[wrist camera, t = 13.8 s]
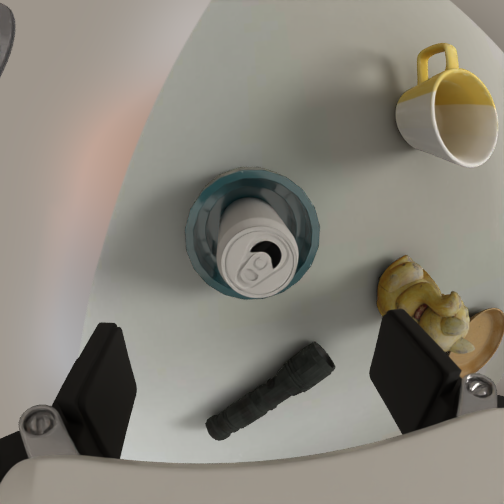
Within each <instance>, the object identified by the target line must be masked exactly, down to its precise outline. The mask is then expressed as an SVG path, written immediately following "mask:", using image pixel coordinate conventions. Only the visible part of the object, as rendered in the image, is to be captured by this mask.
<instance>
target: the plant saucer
mask: <svg viewBox="0 0 504 504" xmlns="http://www.w3.org/2000/svg"><path fill="white" fill-rule="evenodd" d="M469 319H470V322H469V330H468V333H467V335H466V336H465V338H464V339H466V340H468V341H469V342H471V343H472V344H473V345H474V347H475V350H474V351H472V352H470V353H465V354H456V353H453V352H451V351H449V355H448V356H449V357H450V358H451V359H452V360H453V361H454V362H455V364H456V365H457V366H458V367H459V368H460V369H461V370H462V371H461V374H460V377H461V378H464V377H465V376H466V375H468V374H472V373H475V372H477V371H478V370H479V369H481V368H482V367H483V366H484V365H485V364H486V363H487V362H488V361H489V360H490V358H491V357H492V356H493V354H494V353H495V351H496V350H497V348H498V346H499V344H500V342H501V340H502V337H503V334H504V313H503V312H502V311H501V310H500V309H498V308H490V309H486V310H483V311H481V312H479V313H477V314H475V315H474V316H472V317H471V318H469Z"/></svg>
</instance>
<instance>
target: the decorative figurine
mask: <svg viewBox="0 0 504 504" xmlns="http://www.w3.org/2000/svg"><path fill="white" fill-rule="evenodd" d="M377 296H378V299H377V307H378V310H379V312H380V314H381V315H382V317H383V315H385V314H386V313H387V311H388V310H394V309H404V310H405V311H406V312H407V313H408V314H409V315H410V316H411V317H412V318H413V319H414V320H415V321H416V322H417V323H418V324H419V325H420V326H421V327H422V328H423V329H424V330H425V332H426V333H427V334H428V335H429V336H430V337H431V338H432V339H433V340H434V341H435V342H436V343H437V344H438V345H439V346H440V347H441V348H442V349H443V351H444V352H447V351H451V352H453V353H456V354H465V353H470V352H472V351H474V350H475V347H474V345H473V344H472V343H471V342H469V341H468V340H466V339H464V338H465V336H466V335H467V333H468V330H469V322H470V319H469V315H468V311H469V310H468V308H467V307H465V306H464V303H463V301H462V300H461V297H460V296H459V295H458V293H456V292H454V291H452V292H451V294H449V295H444V294H441V291H440V289H439V288H438V286H437V284H436V283H435V282H434V280H433V279H432V278H431V277H430V275H429V274H428V273H427V272H426V271H425V270H424V269H422V267H421V266H420V265H419V264H417V263H415V262H413V260H412V259H411V258H410V257H409V256H408V255H405V256H403V257H401V258H399V259H398V260H396V261H395V262H393V263H392V264H391V265H390V266H389V267H388V268H387V269H386V270H385V271H384V273H383V274H382V276H381V277H379V283H378V292H377Z"/></svg>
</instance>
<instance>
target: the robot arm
mask: <svg viewBox="0 0 504 504" xmlns="http://www.w3.org/2000/svg"><path fill="white" fill-rule="evenodd" d="M461 371H462V370H461V369H460V368H459V367H458V366H457V365H456V364H455V362H454V361H453V360H452V359H451V358H450V357H449V356H448V355H447V354H446V353H445V352H444V351H443V349H442V348H441V347H440V346H439V345H438V344H437V343H436V342H435V341H434V340H433V339H432V338H431V337H430V336H429V335H428V334H427V333H426V332H425V330H424V329H423V328H422V327H421V326H420V325H419V324H418V323H417V322H416V321H415V320H414V319H413V318H412V317H411V316H410V315H409V314H408V313H407V312H406V311H405V310H404V309H394V310H388V311H387V313H386V314H385V315H383V317H382V321H381V326H380V331H379V335H378V339H377V343H376V348H375V352H374V356H373V359H372V363H371V367H370V373H369V374H370V378H371V380H372V382H373V384H374V386H375V387H376V389H377V391H378V392H379V394H380V396H381V398H382V399H383V401H384V403H385V405H386V406H387V408H388V410H389V412H390V413H391V415H392V417H393V419H394V420H395V422H396V424H397V426H398V427H399V429H400V431H401V433H402V435H400V436H396V437H393V438H389V439H385V440H382V441H378V442H374V443H370V444H366V445H361V446H357V447H352V448H347V449H342V450H337V451H332V452H327V453H321V454H315V455H308V456H301V457H294V458H286V459H277V460H267V461H255V462H239V463H207V464H196V463H164V462H147V461H134V460H124V459H120V456H121V452H122V448H123V443H124V439H125V435H126V431H127V427H128V423H129V419H130V416H131V412H132V408H133V404H134V400H135V397H136V393H137V387H136V382H135V379H134V375H133V372H132V368H131V364H130V360H129V357H128V353H127V349H126V345H125V341H124V336H123V332H122V329H121V328H120V327H117V325H116V324H115V323H99V324H98V325H97V327H96V329H95V331H94V332H93V334H92V336H91V337H90V339H89V341H88V343H87V344H86V346H85V348H84V349H83V351H82V353H81V355H80V357H79V358H78V359H77V360H76V361H75V363H74V365H73V367H72V369H71V370H70V372H69V374H68V376H67V378H66V380H65V382H64V383H63V385H62V387H61V389H60V391H59V393H58V395H57V397H56V399H55V401H54V403H53V405H52V406H48V405H36V406H33V407H31V408H29V409H27V410H26V411H25V412H24V413H23V414H22V416H21V417H20V420H19V430H20V431H17V432H15V433H13V434H10V435H8V436H5V437H3V438H1V439H0V504H504V396H500V395H497V389H496V385H495V384H494V382H493V381H492V380H491V379H490V378H488V377H486V376H485V375H482V374H476V373H472V374H468V375H466V376H465V377H464V378H463V379H462V378H461V377H460V374H461Z"/></svg>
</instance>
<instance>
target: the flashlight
mask: <svg viewBox="0 0 504 504" xmlns="http://www.w3.org/2000/svg"><path fill="white" fill-rule="evenodd" d="M334 369H335V365H334V363H333V361H332V360H331V358H330V357H329V355H328V354H327V353H326V351H325V350H324V349H323V348H322V347H321V346H320V345H319V344H316V342H314V343H312V344H311V345H308V346H307V347H306V348H304V349H303V350H302V351H301V352H299V353H298V354H297V355H295V356H294V357H293V358H291V359H290V361H287V363H285V364H284V366H283V367H282V368H281V369H280V371H279V372H278V373H277V376H275V377H274V378H272V379H269V380H268V381H267V383H265V384H264V385H263V386H259V387H257V388H256V389H255V391H254V392H250V393H248V394H247V395H245V396H244V397H242V398H241V399H239V400H238V401H236V402H235V403H233V404H232V405H230V406H229V407H228V408H227V409H226V410H224V411H223V412H222V413H221V414H219V415H214V416H212V417H210V418H209V419H207V422H206V423H205V424H206V427H207V430H208V433H209V435H210V436H211V437H212V438H214V439H215V440H218V441H220V440H224V439H226V438H228V437H229V436H230V434H231V433H232V432H236V431H238V430H239V429H240V428H244V427H246V426H247V425H249V424H251V423H252V422H254V421H255V420H257V419H259V418H260V417H262V416H263V415H265V414H266V413H267V411H269V410H273V409H274V408H276V406H277V405H278V404H280V403H281V402H283V401H284V400H286V399H287V398H289V397H290V396H295V395H297V394H299V393H302V392H306V391H307V390H309V389H310V388H312V387H313V386H315V385H316V384H317V383H319V382H320V381H322V380H323V379H324V378H326V377H327V376H328V375H330V374H331V372H332V371H334Z"/></svg>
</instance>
